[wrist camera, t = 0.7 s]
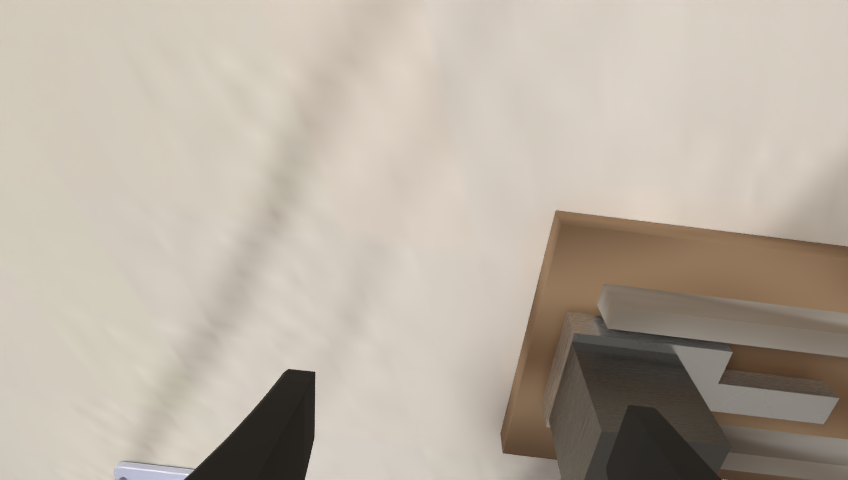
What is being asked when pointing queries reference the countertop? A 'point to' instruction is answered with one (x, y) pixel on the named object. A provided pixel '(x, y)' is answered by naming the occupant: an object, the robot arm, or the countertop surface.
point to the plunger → (657, 392)
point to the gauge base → (699, 326)
